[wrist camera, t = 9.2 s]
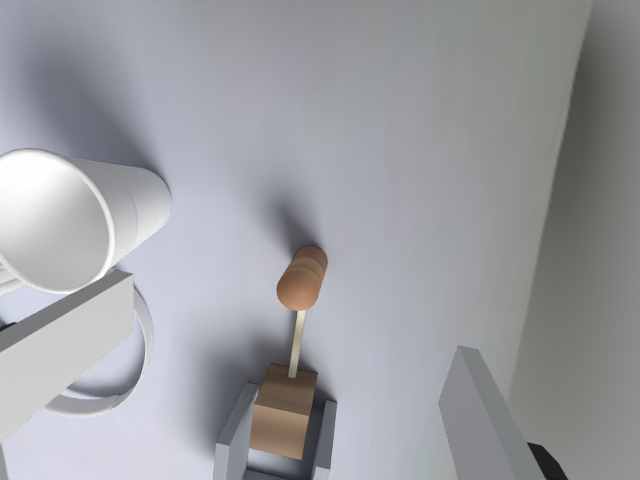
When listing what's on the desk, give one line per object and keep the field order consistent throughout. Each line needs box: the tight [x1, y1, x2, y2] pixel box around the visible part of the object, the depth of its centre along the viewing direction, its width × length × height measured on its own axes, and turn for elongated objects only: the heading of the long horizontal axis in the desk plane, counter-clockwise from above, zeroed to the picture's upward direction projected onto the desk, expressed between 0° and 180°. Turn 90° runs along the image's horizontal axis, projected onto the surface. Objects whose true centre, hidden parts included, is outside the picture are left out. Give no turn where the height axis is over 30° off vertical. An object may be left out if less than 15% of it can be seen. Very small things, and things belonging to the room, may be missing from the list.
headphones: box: [0, 263, 154, 417], centre depth 36 cm, size 7×18×20 cm
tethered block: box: [249, 246, 328, 460], centre depth 32 cm, size 19×5×7 cm, turn 171°
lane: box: [213, 382, 337, 480], centre depth 35 cm, size 13×10×8 cm
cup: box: [0, 148, 172, 294], centre depth 28 cm, size 10×10×11 cm
